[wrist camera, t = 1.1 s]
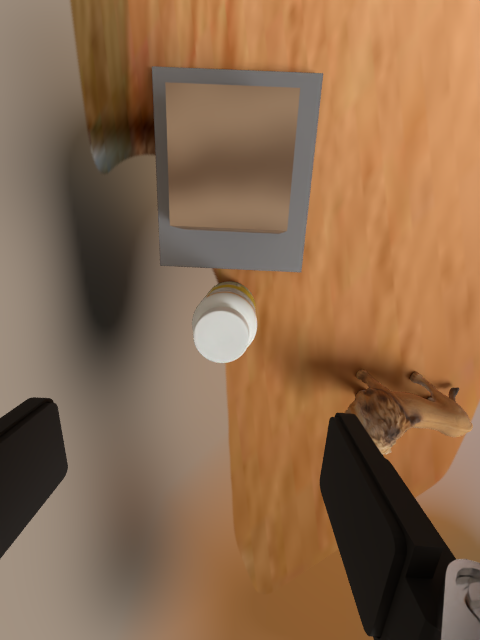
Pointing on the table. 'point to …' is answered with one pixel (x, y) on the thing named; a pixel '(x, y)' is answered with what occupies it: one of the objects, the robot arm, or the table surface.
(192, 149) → the walnut block
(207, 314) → the supplement bottle
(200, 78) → the base plate
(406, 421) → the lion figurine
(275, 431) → the table surface
